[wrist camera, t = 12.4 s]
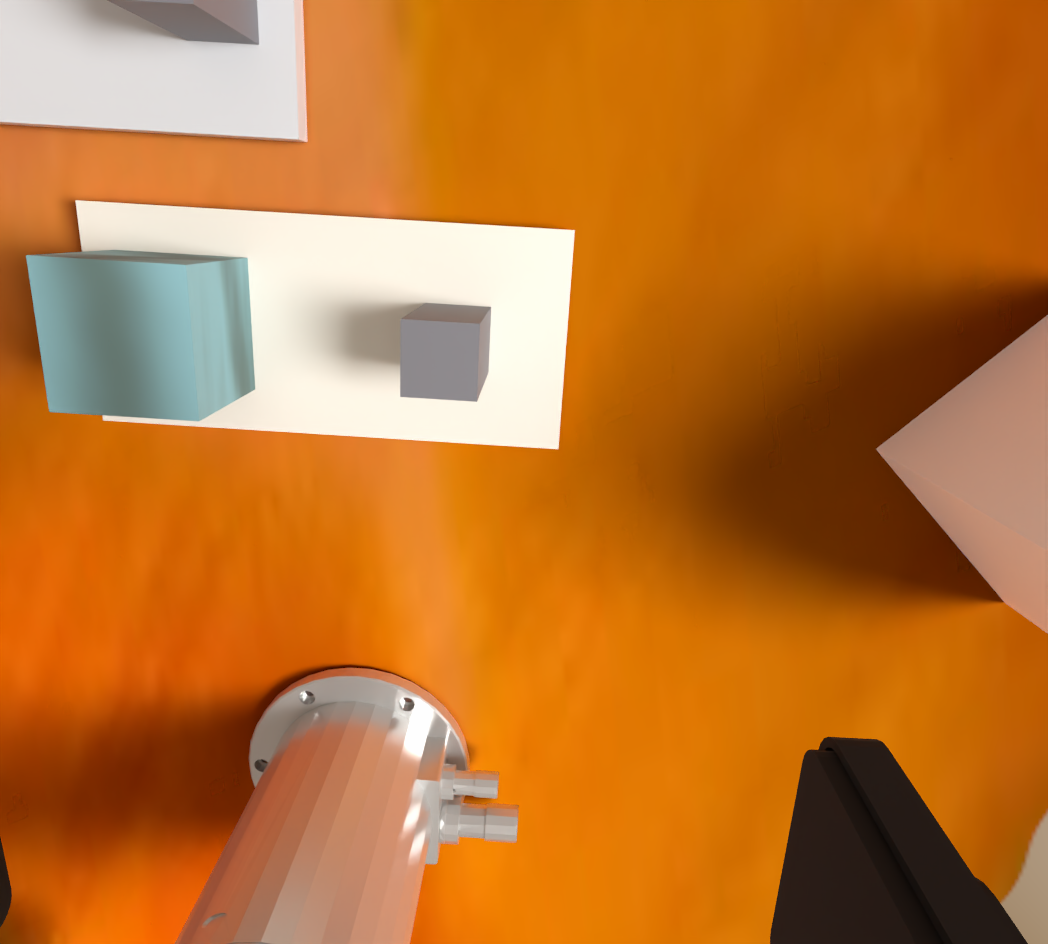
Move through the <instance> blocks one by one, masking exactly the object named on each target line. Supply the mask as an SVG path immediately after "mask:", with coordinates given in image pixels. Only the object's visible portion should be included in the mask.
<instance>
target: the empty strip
mask: <svg viewBox="0 0 1048 944" xmlns="http://www.w3.org/2000/svg"><path fill="white" fill-rule="evenodd" d="M0 124H5V125H22V126H39V127H56V128H73V129H90V130H106V131H123V132H140V133H157V134H174V135H191V136H208V137H225V138H242V139H259V140H276V141H293V142H307V113H306V83H305V52H304V21H303V0H0Z"/></svg>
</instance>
